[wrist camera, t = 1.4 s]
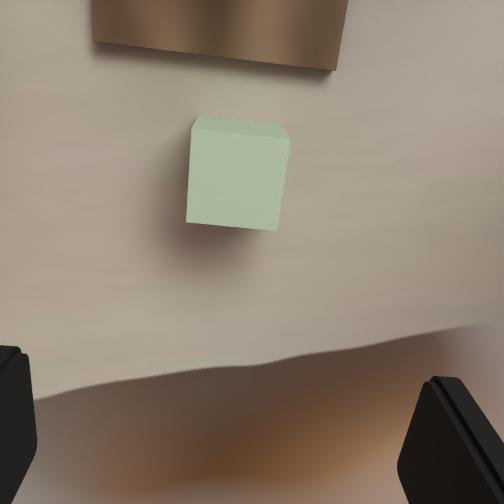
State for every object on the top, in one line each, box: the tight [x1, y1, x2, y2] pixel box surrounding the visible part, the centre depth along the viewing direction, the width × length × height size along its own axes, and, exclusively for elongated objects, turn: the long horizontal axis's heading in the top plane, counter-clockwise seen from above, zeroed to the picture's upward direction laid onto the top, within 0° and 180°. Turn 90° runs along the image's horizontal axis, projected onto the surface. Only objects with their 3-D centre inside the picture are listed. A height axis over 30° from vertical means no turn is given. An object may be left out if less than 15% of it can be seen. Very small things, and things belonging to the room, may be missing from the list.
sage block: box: [186, 115, 291, 231], centre depth 32 cm, size 6×6×6 cm
